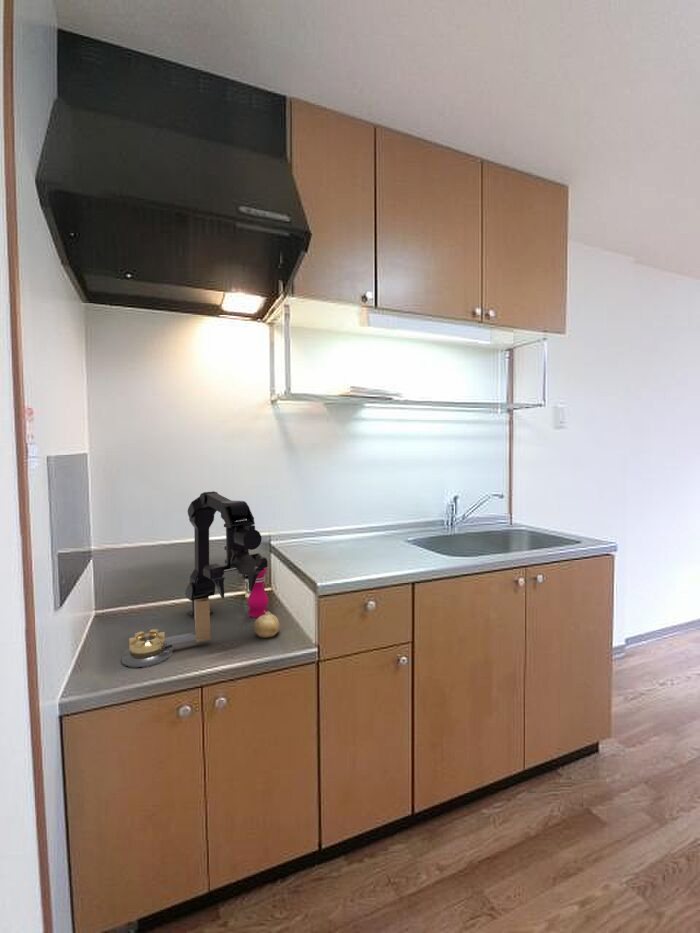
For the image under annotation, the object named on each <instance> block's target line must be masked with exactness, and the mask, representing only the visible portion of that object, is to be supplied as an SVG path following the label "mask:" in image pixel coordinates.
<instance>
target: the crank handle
mask: <svg viewBox="0 0 700 933" xmlns="http://www.w3.org/2000/svg"><path fill="white" fill-rule="evenodd" d="M210 610H211V609H210V598H202V599H196V600H194V611H195V618H194V632H189V633H187V632H186V633H183V634H178V635H172V636H165V631H161V632H159V629H155V628H154V629H150V631H149V632H147V633H145V631H138V632H135V633H134V637H129V639H128V641H129V644H128V645H129V648H130V655H131V656H132V657H135V658H146V657H151V656H154V655H157V654H159V653H160V652H162V651H163V650H164V648H165V645H170V644H171V645H173V644H179V643H185V642H189V641H194V640H195V642H196V643H199V642H203V641H204V642H205V641H209V640H211V617H210V616H211V614H210Z"/></svg>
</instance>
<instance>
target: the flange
mask: <svg viewBox="0 0 700 933" xmlns="http://www.w3.org/2000/svg"><path fill="white" fill-rule="evenodd" d="M172 655H173V644H170V645H165V648H164V650H163V651H162V652H160V653H159V654H157V655H154V656H151V657H146V658H135V657H132V656H131V655H130V647H129V648H127V649H125V650H124V651H123V652H122V654H121V663H122V665H123V666H124V667H126V666H128V667H127V668H130V667H132V668H131V669H137V668H136V667H145V668H148V667H147V666H150V667H152V666H151V665H154V666H156V665H155V664H157V665H159V664H161V663H160V662H162V661H164V660H165V661H167V660H168V659H169V658H170V657H172ZM167 658H168V659H167ZM166 659H167V660H166ZM165 661H164V662H165ZM158 663H159V664H158ZM162 663H163V662H162Z"/></svg>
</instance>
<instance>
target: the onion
mask: <svg viewBox="0 0 700 933" xmlns="http://www.w3.org/2000/svg"><path fill="white" fill-rule="evenodd" d="M264 612H265V611H264ZM253 628H254V632H255V633H256V635H257V636H258V637H259V638H263V639H268V638H272V637H274V636H276V634H278V632H279V630H280V621H279V619H278V618H277V616H276V615H274V614H272V612H270V611H268V610H267V612H265V615H262V616H260V617H259V618H256V620H255V621H254V624H253Z"/></svg>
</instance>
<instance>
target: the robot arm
mask: <svg viewBox="0 0 700 933" xmlns="http://www.w3.org/2000/svg"><path fill="white" fill-rule="evenodd" d="M216 512H218V513H220V518H221V519H222V520H223V521H224V524H223V527H224V528H225V537H226V538H225V542H226V545H224V547H223V548H224V551H226V559H224V565H220V564H218V563H212V564H211V563H210V528H211V526H212V524H213V522H214V521H215V514H216ZM187 516H188V518H189V519H188V520H189V522H190V524H191V525H192V527H193V528H194V570H193V571H192V573H191V574H190V577H189V583H188V584H187V587H186V588H185V591H184V592H185V598H186V599H187V600H189V601H191V610H189V611H188V612H187V613H188V615H190V616H191V617H193V618H194V619H195V611H194V600H196V599H202V598H209V597H211V596H215V592H216V588H217V591H218V593H219V596H220V598H221V599H225V585H224V584H225V583H224V582H225V580H226V577H225V576H224V575H225V573H227V572H232V571H235V570H236V571H238V574H240V575H245V574H247V582H248V583H247V584H248V589H249V590H248V591H249V592H251V591H252V590H253V587H254V584H255V581H256V578H257V576H258V574H259V573H260V572H261V571H263V570H264V568H266V569H267V568H268V567H269V561H268V558H267V557H265V556H262V555H261V554H260V553H259V552H258V553H253V554H250V552H249V551H253V550H256V549H257V548H258V547H260V545H261V543H262V535H261V532H260V531H258V530H257V529H256V526H255V517H254V516H253V513H252V510H251V508H250V506H249V505H248V503H247V502H246V501H244V500H231V499H229V498H227V497H225V496H223V495H221V494H219V493H218V492H217V491H204V492H202V493H200V494H199V496H198V497H197V498H195V499H194V500H193V501H191V502H190V504H189V505H188V508H187ZM209 599H210V598H209ZM212 614H214V611H213V610H211V609H210V615H212Z"/></svg>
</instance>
